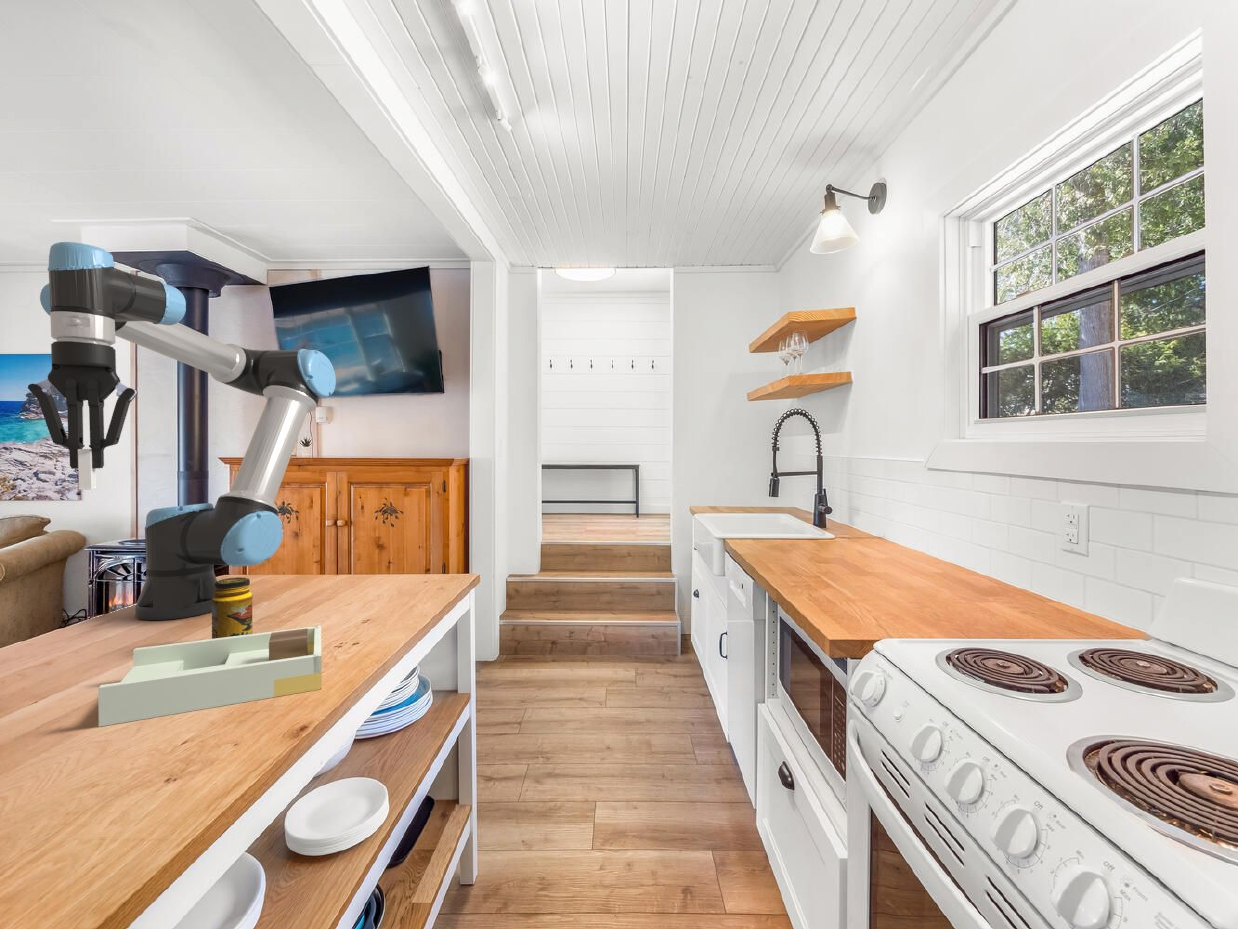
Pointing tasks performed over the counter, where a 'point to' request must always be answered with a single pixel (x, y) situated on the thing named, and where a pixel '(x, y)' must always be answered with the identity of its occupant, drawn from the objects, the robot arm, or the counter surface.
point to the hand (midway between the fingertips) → (87, 488)
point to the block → (288, 644)
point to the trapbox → (207, 677)
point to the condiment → (232, 608)
